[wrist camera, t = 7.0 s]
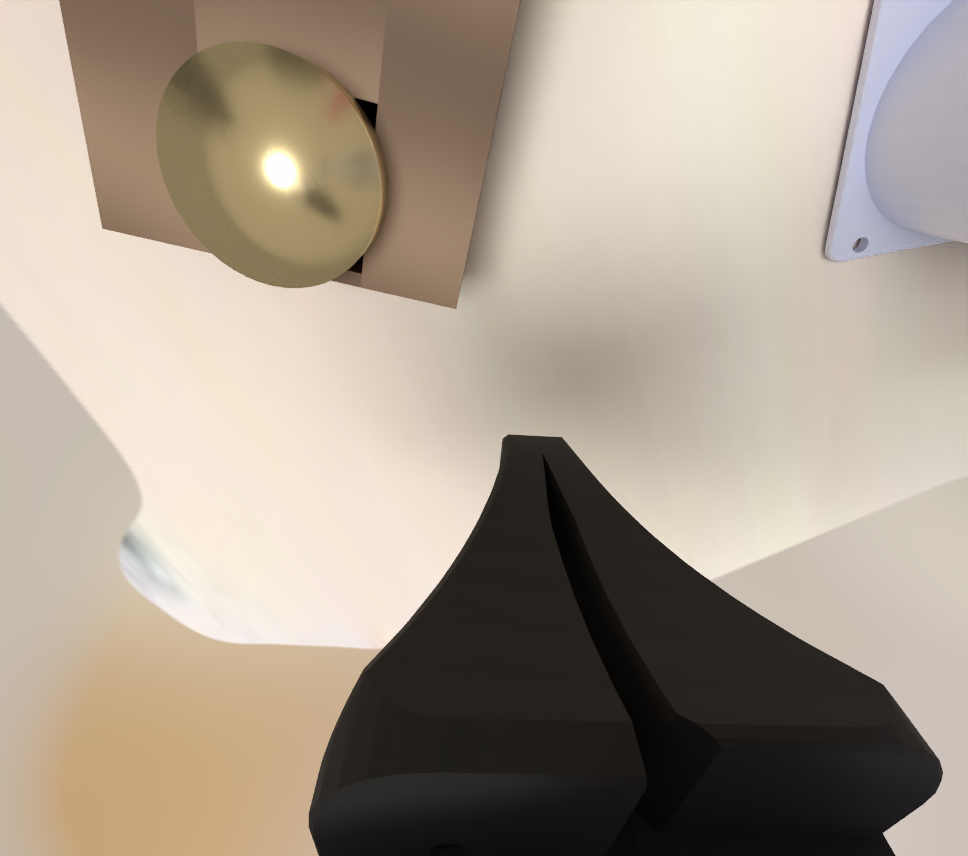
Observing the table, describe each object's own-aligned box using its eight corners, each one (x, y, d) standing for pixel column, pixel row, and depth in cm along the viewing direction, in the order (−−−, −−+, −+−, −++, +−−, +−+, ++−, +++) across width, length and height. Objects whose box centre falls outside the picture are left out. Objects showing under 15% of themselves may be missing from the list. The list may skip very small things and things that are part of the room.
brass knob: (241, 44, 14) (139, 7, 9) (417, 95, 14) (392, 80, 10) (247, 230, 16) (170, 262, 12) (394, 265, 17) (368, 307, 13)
